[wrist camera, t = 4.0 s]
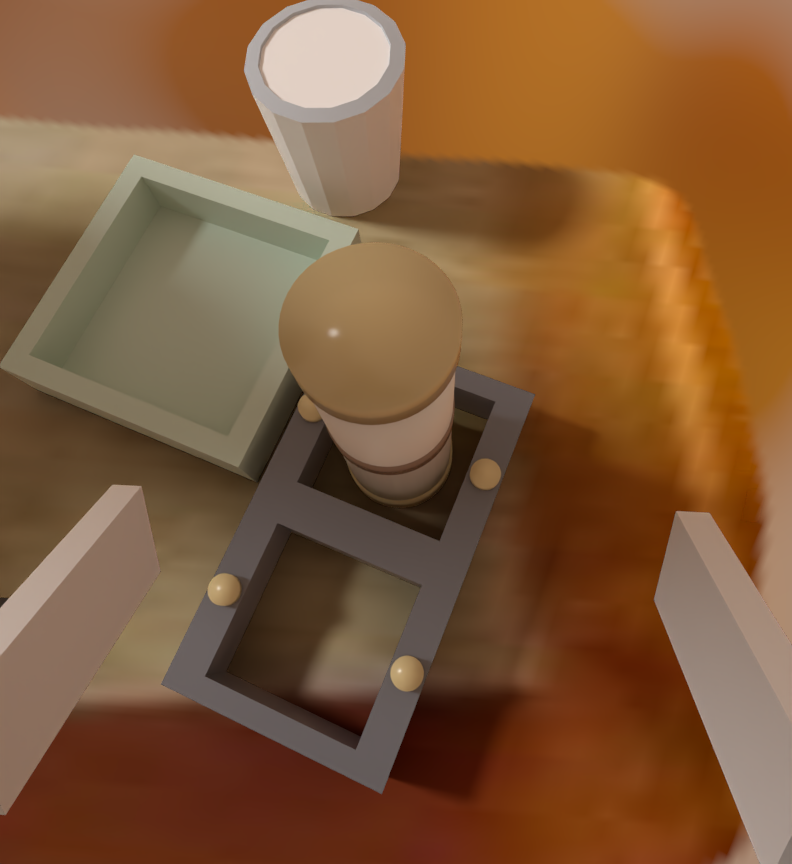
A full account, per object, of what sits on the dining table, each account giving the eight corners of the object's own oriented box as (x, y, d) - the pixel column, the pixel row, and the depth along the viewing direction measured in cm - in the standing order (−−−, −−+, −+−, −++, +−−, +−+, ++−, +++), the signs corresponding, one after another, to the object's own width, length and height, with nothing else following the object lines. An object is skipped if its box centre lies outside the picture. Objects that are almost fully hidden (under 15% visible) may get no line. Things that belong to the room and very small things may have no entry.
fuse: (332, 485, 28) (247, 371, 15) (373, 394, 29) (324, 220, 16) (428, 524, 27) (420, 437, 15) (467, 429, 28) (489, 274, 16)
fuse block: (186, 678, 26) (156, 685, 23) (345, 347, 30) (336, 318, 27) (386, 777, 24) (380, 796, 21) (526, 414, 28) (536, 390, 25)
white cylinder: (425, 129, 33) (423, 4, 26) (394, 238, 31) (382, 133, 25) (303, 109, 34) (271, -16, 27) (265, 214, 32) (220, 107, 26)
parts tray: (36, 389, 30) (-2, 366, 27) (158, 192, 33) (133, 154, 30) (257, 482, 28) (238, 467, 25) (364, 263, 31) (358, 229, 28)
